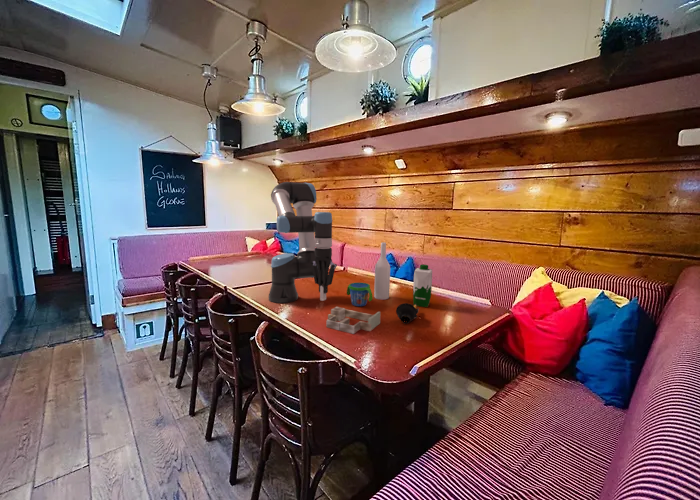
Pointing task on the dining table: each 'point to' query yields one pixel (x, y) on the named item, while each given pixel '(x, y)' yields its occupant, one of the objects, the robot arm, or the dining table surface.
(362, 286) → the snack cup
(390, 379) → the dining table surface
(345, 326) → the box
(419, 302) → the milk carton
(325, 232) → the robot arm
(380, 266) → the bottle
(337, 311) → the cream block
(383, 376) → the dining table surface
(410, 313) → the fried shrimp in bowl
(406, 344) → the dining table surface
